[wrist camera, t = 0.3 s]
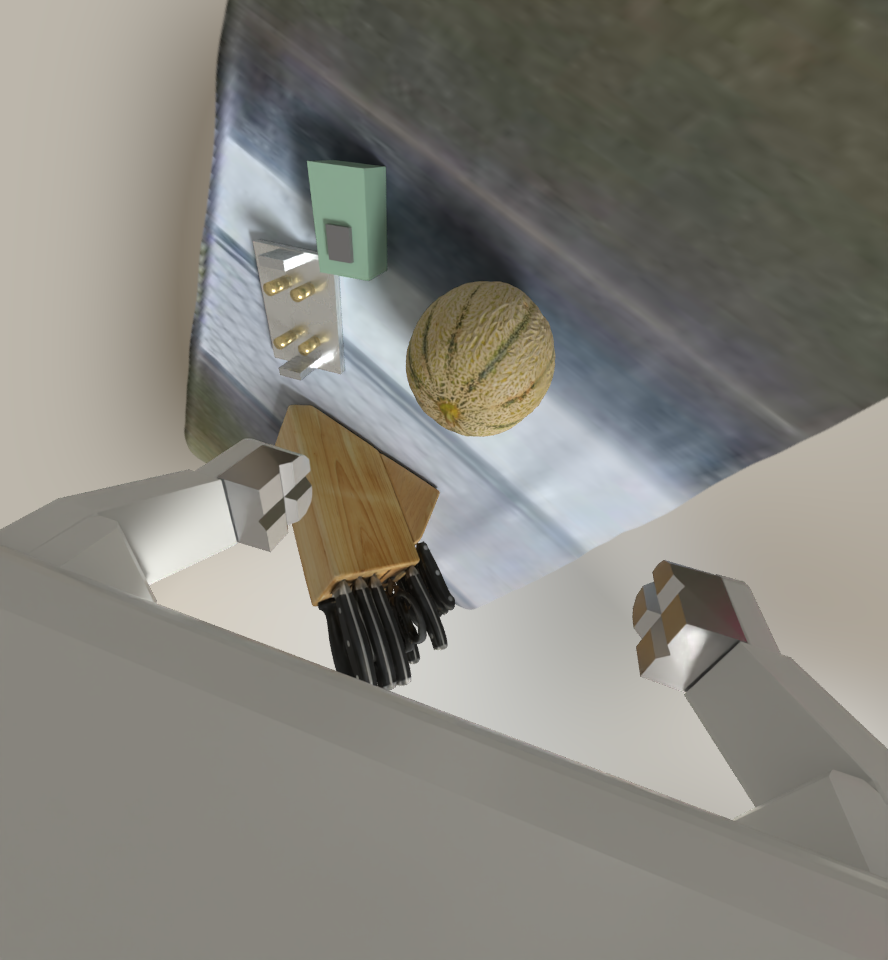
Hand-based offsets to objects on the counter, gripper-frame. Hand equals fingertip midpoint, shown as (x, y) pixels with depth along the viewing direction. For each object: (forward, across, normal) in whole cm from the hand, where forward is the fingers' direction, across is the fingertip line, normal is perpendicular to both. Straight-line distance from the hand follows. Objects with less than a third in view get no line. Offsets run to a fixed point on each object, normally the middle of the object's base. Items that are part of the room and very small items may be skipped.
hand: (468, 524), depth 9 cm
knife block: (+42, +18, +33) cm, 57 cm away
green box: (+38, +21, -3) cm, 44 cm away
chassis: (+39, +29, +8) cm, 49 cm away
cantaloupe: (+39, +5, +6) cm, 40 cm away
